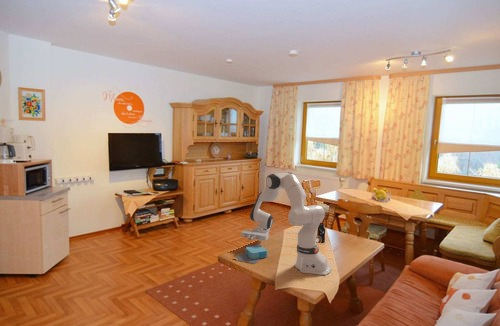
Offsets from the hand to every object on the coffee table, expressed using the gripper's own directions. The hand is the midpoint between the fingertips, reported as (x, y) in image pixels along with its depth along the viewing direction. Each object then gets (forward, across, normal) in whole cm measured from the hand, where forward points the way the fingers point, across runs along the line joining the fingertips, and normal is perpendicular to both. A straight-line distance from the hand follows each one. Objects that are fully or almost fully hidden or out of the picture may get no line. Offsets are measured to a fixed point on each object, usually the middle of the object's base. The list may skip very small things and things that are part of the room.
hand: (249, 238), depth 218 cm
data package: (0, +2, +8) cm, 8 cm away
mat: (+11, +3, +10) cm, 15 cm away
